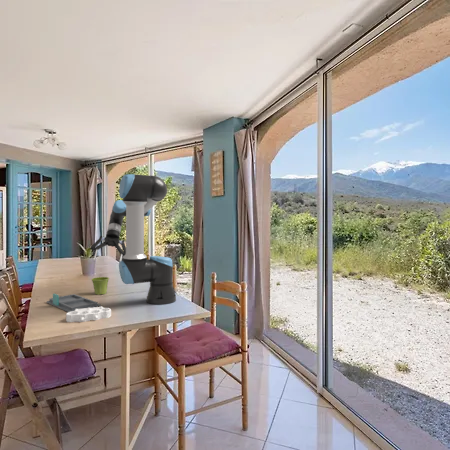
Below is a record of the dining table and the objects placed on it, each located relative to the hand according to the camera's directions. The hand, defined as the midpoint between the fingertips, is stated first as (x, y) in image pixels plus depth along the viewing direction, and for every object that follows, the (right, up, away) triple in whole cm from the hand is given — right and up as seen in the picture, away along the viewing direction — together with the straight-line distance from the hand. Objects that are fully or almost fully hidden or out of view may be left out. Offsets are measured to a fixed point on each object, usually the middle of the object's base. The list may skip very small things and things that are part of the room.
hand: (107, 263), depth 180 cm
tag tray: (-11, -19, -17) cm, 28 cm away
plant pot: (-6, -18, +6) cm, 20 cm away
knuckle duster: (+6, -20, -37) cm, 43 cm away
